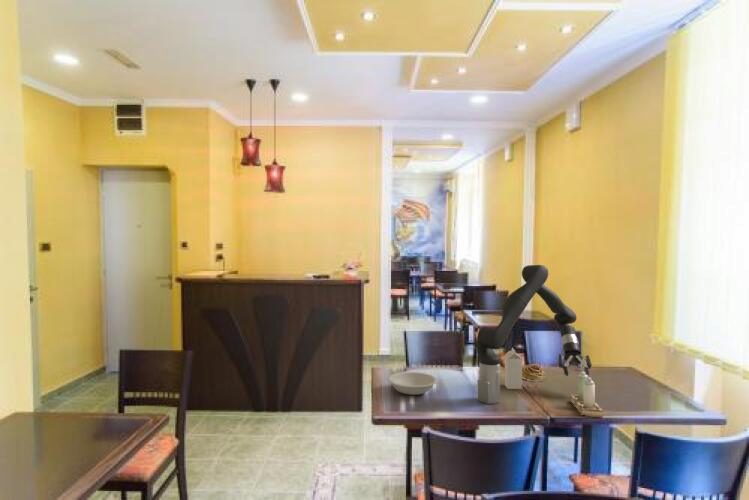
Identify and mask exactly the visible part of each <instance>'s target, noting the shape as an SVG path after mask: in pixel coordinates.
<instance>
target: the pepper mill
mask: <svg viewBox="0 0 749 500" xmlns="http://www.w3.org/2000/svg"><path fill="white" fill-rule="evenodd" d="M588 377H589V375H586V373H585V372H584V370H583V371H580V373H579V374H578V376H577V395H578V401H583V383H584V380H587V378H588Z"/></svg>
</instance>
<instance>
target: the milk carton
mask: <svg viewBox="0 0 749 500" xmlns="http://www.w3.org/2000/svg"><path fill="white" fill-rule="evenodd" d="M522 368H523V358H522V357H521V356H520V355H519V354H518V353H517V352H516V350H515V349H514V348H513V347H512V348H511V350H509V351H507V352H506V353H505V355H504V386H505V387H506V389H507V390H508V389H509V390H522V389H523V378H522Z"/></svg>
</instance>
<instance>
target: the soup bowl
mask: <svg viewBox="0 0 749 500" xmlns="http://www.w3.org/2000/svg"><path fill="white" fill-rule="evenodd" d="M438 380H439V379H438V378H437V377H436V376H434V375H433V374H430V373H426V372H418V371H402V372H396V373H393V374H389V376H387V381H388V383H390V384H391V386H392V387H393V388H394V389H395V390H396V391H398V392H399V393H401V394H405V395H411V396H413V395H423V394H425V393H427V392H429V391H430V390H431V389H433V387H434V386H435V385H436V384H437V383H438Z"/></svg>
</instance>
